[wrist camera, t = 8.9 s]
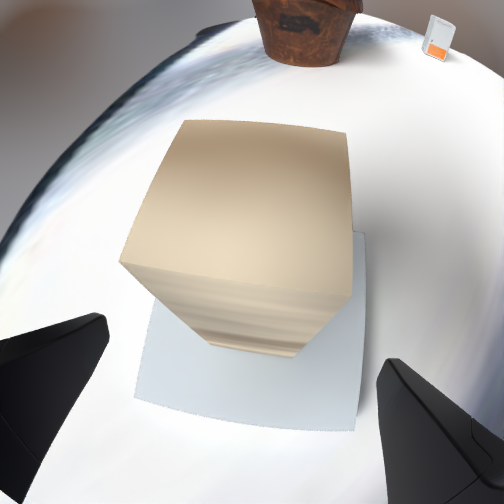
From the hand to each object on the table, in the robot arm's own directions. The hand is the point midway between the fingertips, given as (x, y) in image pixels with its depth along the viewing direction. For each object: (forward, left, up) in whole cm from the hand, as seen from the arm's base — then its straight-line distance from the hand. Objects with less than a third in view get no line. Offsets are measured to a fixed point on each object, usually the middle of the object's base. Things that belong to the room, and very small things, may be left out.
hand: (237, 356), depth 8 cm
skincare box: (+71, +35, -12) cm, 80 cm away
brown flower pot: (+30, +38, -12) cm, 50 cm away
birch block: (+2, +3, -9) cm, 10 cm away
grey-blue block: (+2, +3, -12) cm, 12 cm away
